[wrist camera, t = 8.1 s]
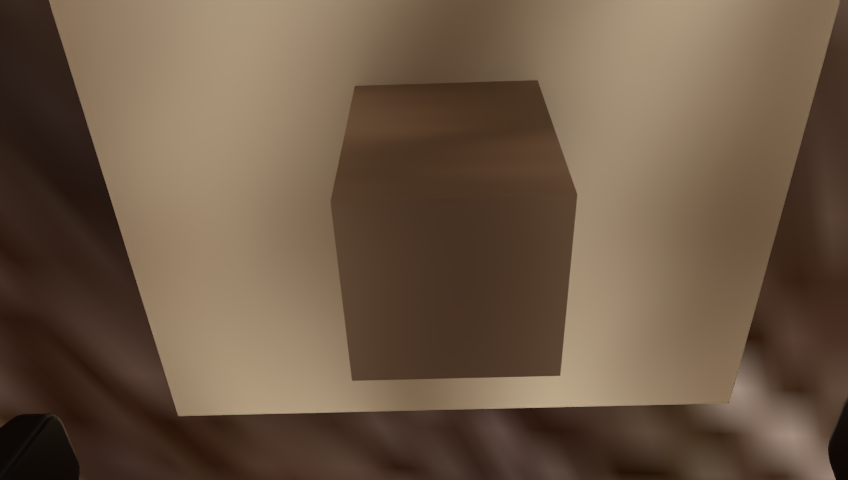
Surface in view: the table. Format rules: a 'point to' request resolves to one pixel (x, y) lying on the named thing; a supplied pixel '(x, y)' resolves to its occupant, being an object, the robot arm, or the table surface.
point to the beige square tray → (446, 192)
